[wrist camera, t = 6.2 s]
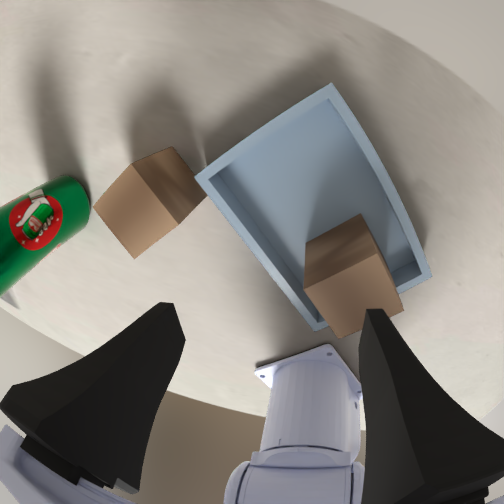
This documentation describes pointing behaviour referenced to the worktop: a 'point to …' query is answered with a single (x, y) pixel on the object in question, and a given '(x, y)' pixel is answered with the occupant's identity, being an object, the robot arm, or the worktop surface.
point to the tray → (311, 194)
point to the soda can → (39, 226)
